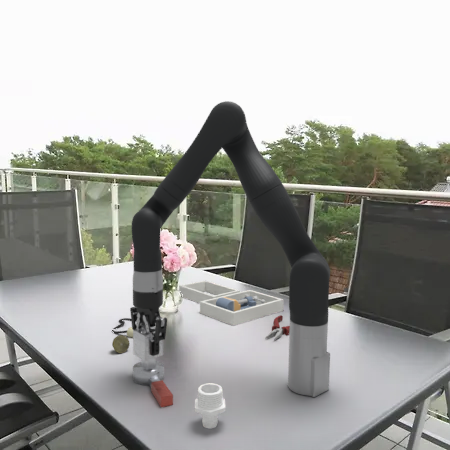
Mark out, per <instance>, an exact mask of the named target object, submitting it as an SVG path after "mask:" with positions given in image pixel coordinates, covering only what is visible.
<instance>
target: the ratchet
mask: <svg viewBox="0 0 450 450" xmlns="http://www.w3.org/2000/svg"><path fill="white" fill-rule="evenodd" d="M156 358H157V357H156ZM156 358H153V359H149V360H146V361H144V360H142V359H141V358H140V360H141V361H138V362H136V363H135V364H134V365H133V366H132V381H133V382H134V383H135V384H137V385H141V386H149V387H150V389H151V391H150V392H151V393H152V395H153V397H154V398H155V401H156V402H157V404H158V405H159V406H160V408H165V407H170V406H173V405H174V395H173V393H172V391H171V390H170V389H169V387H168V386H167V384H166V383H165V382H164V379H165V364H164V363H163V362H162V361H158V360H156Z"/></svg>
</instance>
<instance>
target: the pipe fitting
mask: <svg viewBox="0 0 450 450" xmlns="http://www.w3.org/2000/svg"><path fill="white" fill-rule="evenodd" d="M223 390H224V389H223V387H222V386H221V385H220V384H217V383H214V382H213V383H212V382H209V383H203V384H201V385H200V386H198V388H197V398H195V399H194V412H195V413H197V414H201V416H202V419H201V421H202V426H203V427H204V428H205V429H209V430H211V429H215V428H216V427H217V426H218V421H219V420H218V419H219V417H218V416H219V414H220V415H221V414H222V413H225V412H226V399H225V398H224V397H223Z"/></svg>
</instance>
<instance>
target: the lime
mask: <svg viewBox="0 0 450 450" xmlns="http://www.w3.org/2000/svg"><path fill="white" fill-rule="evenodd" d="M111 343H112V348H113V349H114V351H115V352H116V353H118V354H123V353H126V352H127V351H128V349H129V348H130V340H129V337H128V336H126V335H124V334H120V335H117V336H115V337H114V338H113V340H112V342H111Z"/></svg>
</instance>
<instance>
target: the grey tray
mask: <svg viewBox="0 0 450 450" xmlns="http://www.w3.org/2000/svg"><path fill="white" fill-rule="evenodd" d="M178 291H181V293H182V294H183V297H182V298H184V299H187V300H190V301H192V302H195V303H198V304H200V301H204V300H209V299H213V298H217V297H221V296H226V295H230V294H234V293H238V292H241V290H239V289H236V288H232V287H229V286H225V285H222V284H219V283H214V282H212V281H208V280H201V281H196V282H191V283H185V284H181V285H179V289H178Z"/></svg>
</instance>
